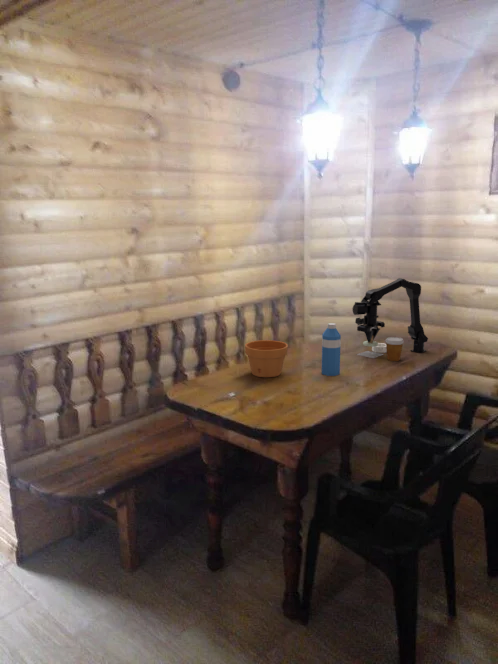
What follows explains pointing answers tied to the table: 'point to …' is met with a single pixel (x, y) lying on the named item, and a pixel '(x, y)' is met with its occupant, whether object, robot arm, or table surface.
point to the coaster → (370, 354)
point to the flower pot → (266, 357)
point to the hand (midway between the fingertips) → (370, 341)
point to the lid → (370, 343)
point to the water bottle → (331, 351)
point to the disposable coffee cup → (394, 348)
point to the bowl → (380, 348)
